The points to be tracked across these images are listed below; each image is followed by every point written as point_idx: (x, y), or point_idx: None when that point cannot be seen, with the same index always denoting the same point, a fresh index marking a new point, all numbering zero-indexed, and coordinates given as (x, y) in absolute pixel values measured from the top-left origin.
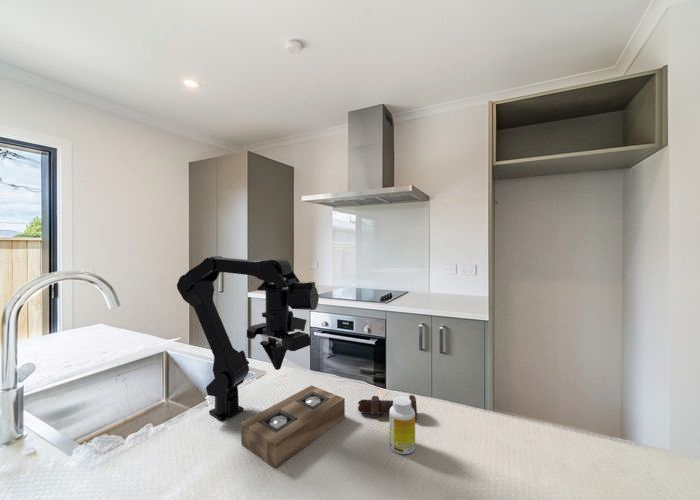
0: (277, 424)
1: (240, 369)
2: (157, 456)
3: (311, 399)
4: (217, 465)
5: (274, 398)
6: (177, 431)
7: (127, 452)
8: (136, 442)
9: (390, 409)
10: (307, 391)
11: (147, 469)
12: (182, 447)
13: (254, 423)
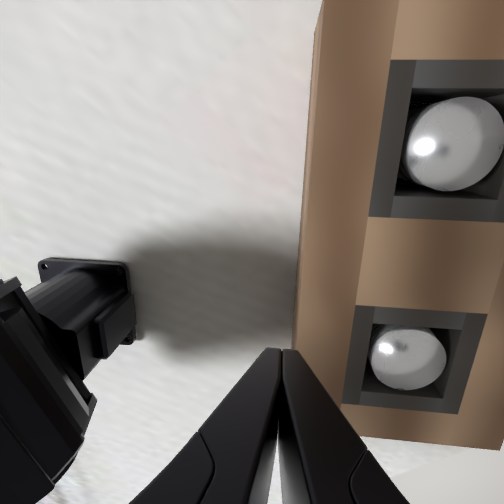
0: (423, 378)
1: (6, 419)
2: None
3: (443, 144)
4: None
5: (134, 124)
6: (93, 417)
7: (98, 493)
8: (72, 473)
9: None
10: (359, 84)
11: None
12: (172, 441)
13: None
